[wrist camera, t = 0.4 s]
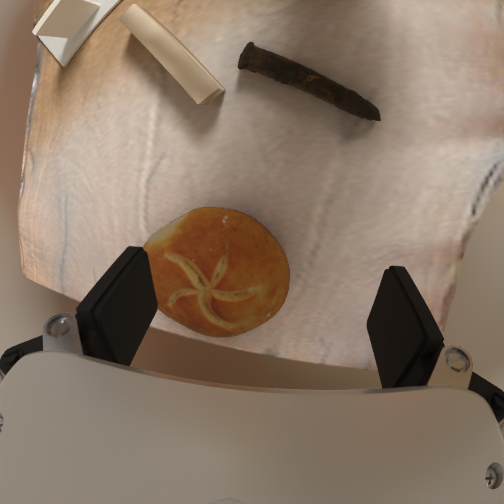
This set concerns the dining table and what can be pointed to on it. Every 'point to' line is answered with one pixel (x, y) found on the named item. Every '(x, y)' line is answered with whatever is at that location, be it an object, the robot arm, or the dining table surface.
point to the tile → (65, 18)
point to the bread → (218, 271)
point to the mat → (78, 34)
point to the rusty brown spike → (306, 81)
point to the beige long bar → (172, 54)
